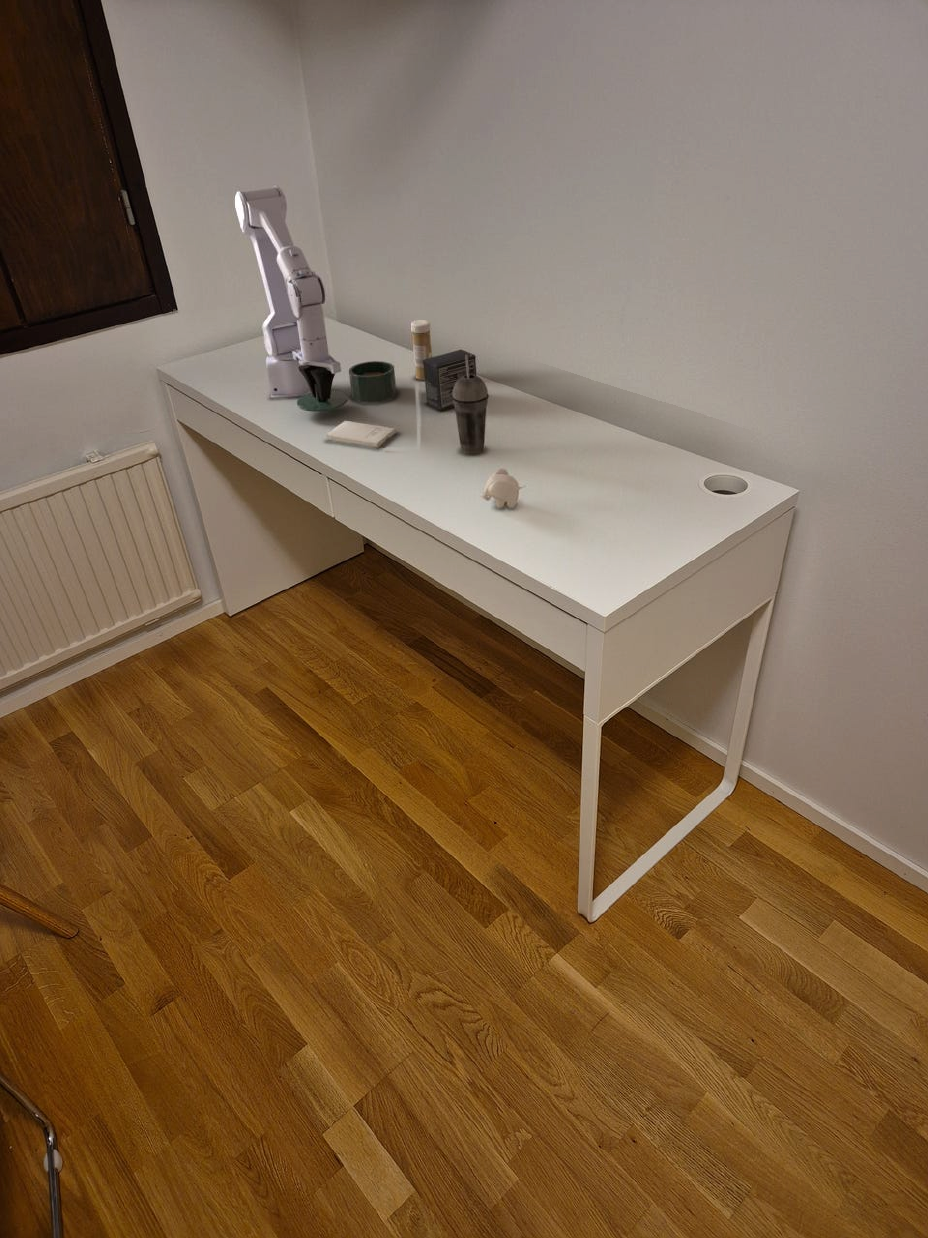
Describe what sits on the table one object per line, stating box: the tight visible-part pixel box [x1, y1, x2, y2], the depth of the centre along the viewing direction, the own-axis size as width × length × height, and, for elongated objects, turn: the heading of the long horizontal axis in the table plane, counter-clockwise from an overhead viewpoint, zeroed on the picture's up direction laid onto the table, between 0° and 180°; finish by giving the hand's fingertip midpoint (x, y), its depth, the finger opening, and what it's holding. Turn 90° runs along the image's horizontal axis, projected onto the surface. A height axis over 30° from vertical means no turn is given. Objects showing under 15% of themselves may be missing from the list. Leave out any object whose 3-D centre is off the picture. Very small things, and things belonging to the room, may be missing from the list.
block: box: [363, 372, 382, 376], centre depth 201 cm, size 4×4×4 cm
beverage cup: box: [452, 355, 490, 456], centre depth 170 cm, size 7×7×20 cm
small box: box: [423, 349, 477, 412], centre depth 194 cm, size 11×6×10 cm, turn 123°
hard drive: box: [325, 420, 397, 450], centre depth 183 cm, size 2×8×12 cm
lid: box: [296, 382, 348, 413], centre depth 192 cm, size 11×11×5 cm
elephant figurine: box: [481, 468, 526, 509], centre depth 154 cm, size 7×8×6 cm
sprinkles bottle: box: [410, 319, 433, 381], centre depth 207 cm, size 5×5×14 cm
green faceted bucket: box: [348, 360, 397, 403], centre depth 201 cm, size 10×10×6 cm
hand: (321, 397), depth 192 cm, fingers closed on lid, 2 cm apart
